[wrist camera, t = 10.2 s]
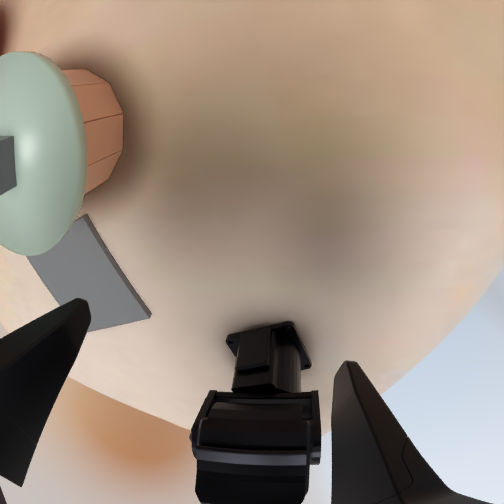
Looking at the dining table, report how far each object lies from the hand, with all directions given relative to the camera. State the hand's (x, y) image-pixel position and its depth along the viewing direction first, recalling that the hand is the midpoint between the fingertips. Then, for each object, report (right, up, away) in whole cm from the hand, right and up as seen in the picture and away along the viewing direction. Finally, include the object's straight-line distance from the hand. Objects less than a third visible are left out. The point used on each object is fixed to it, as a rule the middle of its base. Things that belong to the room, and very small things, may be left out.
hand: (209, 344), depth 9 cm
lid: (-13, +9, +3) cm, 16 cm away
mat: (-15, 0, +16) cm, 22 cm away
